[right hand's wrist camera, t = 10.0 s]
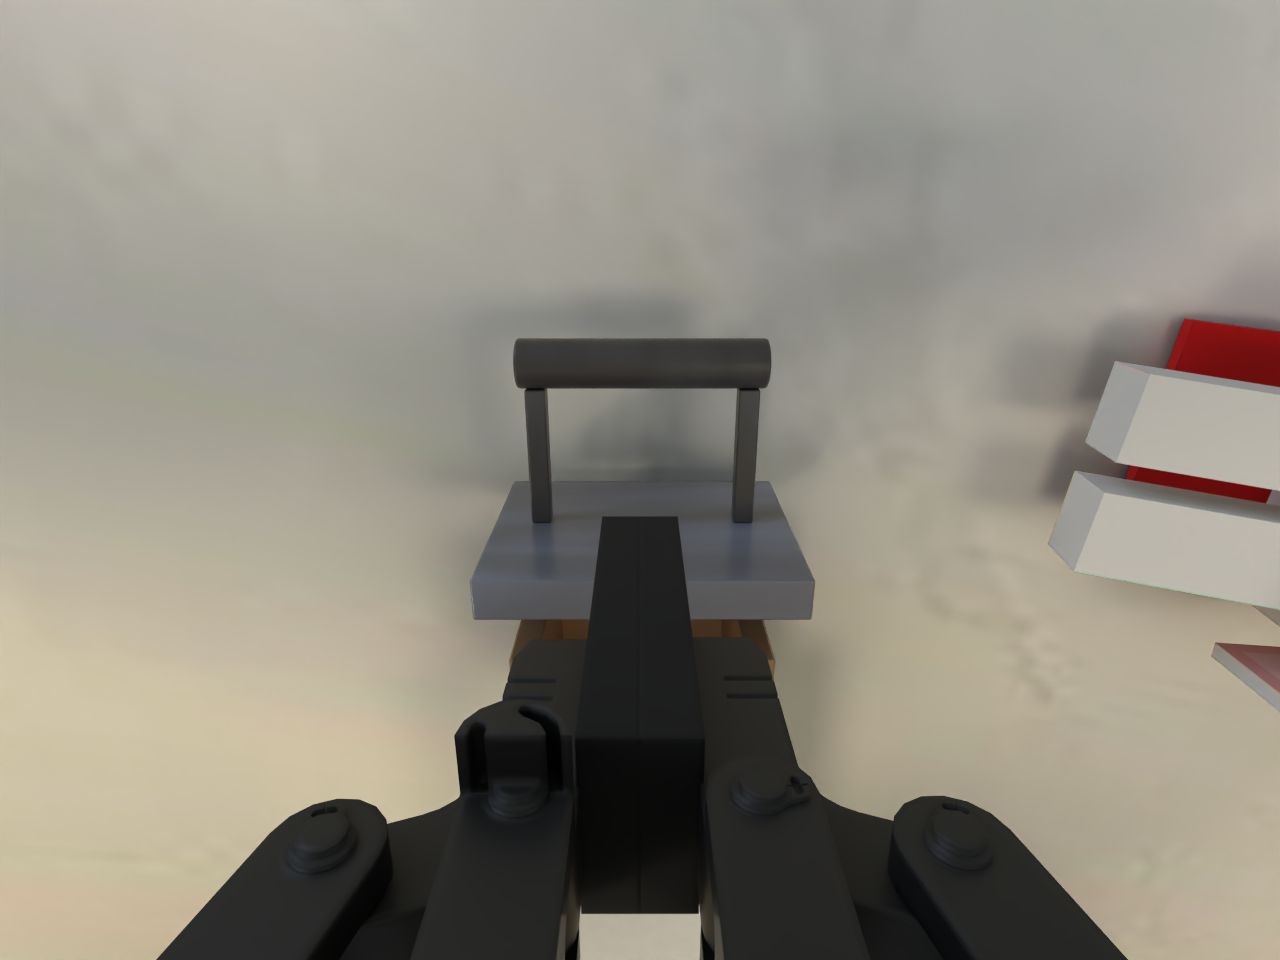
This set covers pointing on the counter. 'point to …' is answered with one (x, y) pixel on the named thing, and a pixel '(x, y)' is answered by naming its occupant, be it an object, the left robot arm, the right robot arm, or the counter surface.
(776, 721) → the right robot arm
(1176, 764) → the counter surface
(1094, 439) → the toy
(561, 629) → the drawer
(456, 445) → the counter surface
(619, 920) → the cabinet
